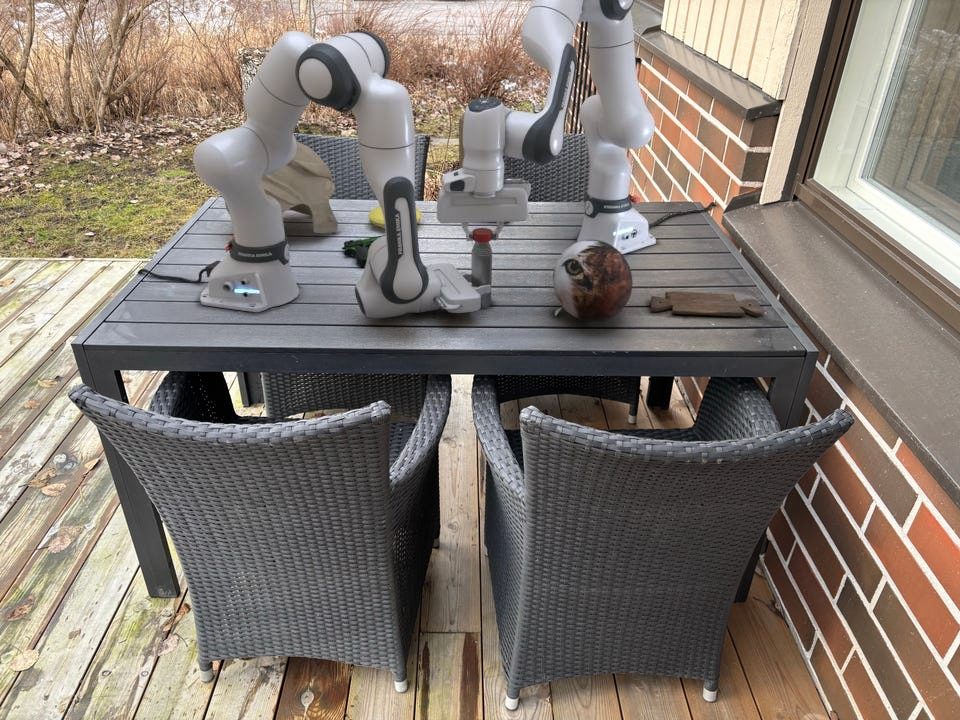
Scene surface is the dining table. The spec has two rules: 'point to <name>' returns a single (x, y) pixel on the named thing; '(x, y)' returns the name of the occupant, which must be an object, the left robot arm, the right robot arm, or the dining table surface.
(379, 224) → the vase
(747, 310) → the wooden paddle board
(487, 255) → the bottle
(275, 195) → the helmet
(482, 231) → the cap
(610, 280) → the plush toy
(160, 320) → the dining table surface
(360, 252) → the handgun
